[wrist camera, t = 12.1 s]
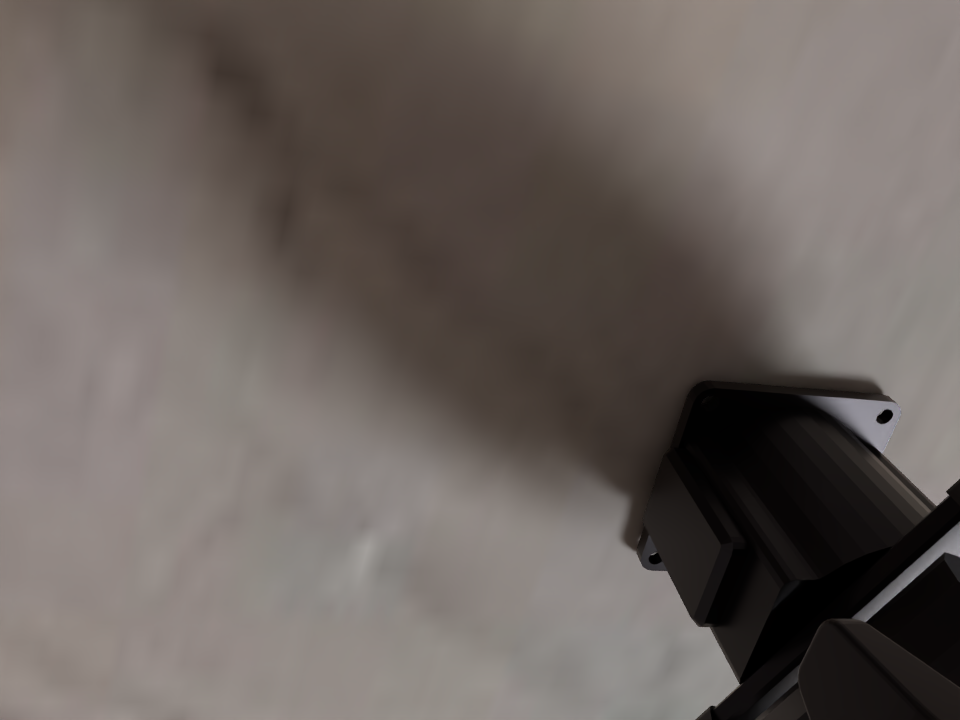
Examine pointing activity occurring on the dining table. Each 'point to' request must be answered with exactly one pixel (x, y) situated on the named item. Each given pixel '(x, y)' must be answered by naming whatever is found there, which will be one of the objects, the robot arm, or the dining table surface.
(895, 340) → the dining table surface
